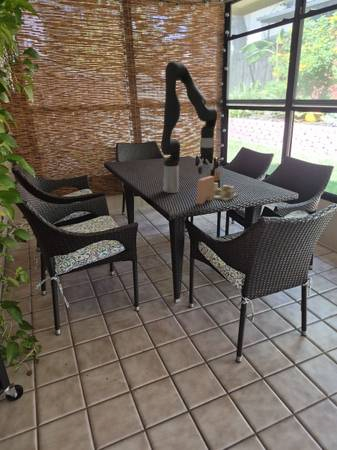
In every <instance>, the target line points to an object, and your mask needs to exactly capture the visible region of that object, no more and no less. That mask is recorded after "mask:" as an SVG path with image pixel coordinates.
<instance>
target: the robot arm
mask: <svg viewBox="0 0 337 450" xmlns="http://www.w3.org/2000/svg"><path fill="white" fill-rule="evenodd" d="M164 76H165V77H164V78H165V81H164V82H165V97H164V99H165V100H164V111H163V112H164V113H163V116H164V117H163V129H162V134H161V135H162V136H161V141H160V143H161V144H160V150H161V153H162V154H163V155H164V156H168V157H167V159H165V160H164V162H163V177H162V181H163V182H162V183H163V185H162V186H163V192H165V193H167V194H176V193H178V192H179V185H180V184H179V182H180V181H179V180H180V179H179V177H180V176H179V165H180V164H179V163H180V157H181V156H180V155H181V144H180V141H179V140H178V139H177V138H172V132H173V131H174V129H175V127H176V125H177V124H178V122H179V120H180V116H181V102H180V100H179V98H178V95H177V81H178V82H179V81H180V83H182V84H183V85H184V87H185V90H186V96H187V98H188V100H189V102H190V103H191V104H192V106H193V107H194V110H195V112H196V113H195V114H196V116H197V117H198V119H199V120H200V121H202V122H205V125H203V126H202V127H201V128H200V142H199V143H200V145H199V149H200V150H199V154H198V155H195V163H194V164H195V166H196V167H197V173H198V175H202V174H203V165H207V166H209V168H210V171H211V176H214V175H215V176H216V169H219V158H218V157H214V155H215V154H214V153H215V152H214V151H215V127H216V124H217V120H218V111H217V109H216V108H215V107H212V106H211V107H210V106H209V107H207V106H206V105H207V100H206V98H205V97H204V95H203V94H202V93H201V91H200V90H199V88H198V87H197V84H196V83H195V81H194V80H193V77H192V76H191V73H190V71H189V69H188V67H187V66H186V64H184V62H180V61H169V62H168V63H167V64H166V66H165V73H164Z"/></svg>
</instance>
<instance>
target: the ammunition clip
mask: <svg viewBox="0 0 337 450" xmlns="http://www.w3.org/2000/svg"><path fill="white" fill-rule="evenodd" d="M220 173H221V171H220V170H215V175H214V176H213V177H214V182H215V183H218V188H220V187H221V175H220ZM208 176H211V170H210V171H207V175H206V177H208Z"/></svg>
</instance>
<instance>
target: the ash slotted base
mask: <svg viewBox="0 0 337 450" xmlns="http://www.w3.org/2000/svg"><path fill="white" fill-rule="evenodd" d="M237 197H239V193H235V186H233V185H230V184H223V185H222V187H221V188H220V187H219V188H218V183H215V182H214V194H213V200H214V199H215V200H220V201H223V202H227V201H229V200H233V199H234V198H237Z"/></svg>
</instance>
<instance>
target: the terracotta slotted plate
mask: <svg viewBox="0 0 337 450" xmlns="http://www.w3.org/2000/svg"><path fill="white" fill-rule="evenodd" d="M196 190H197V191H196V195H197V196H196V204H197V205H203V204H205V203H206V201H209V202H211V201H213V200H214V198H213V194H214V177H213V176H208V177H207V176H206V177H202V178H199V179H197V187H196Z"/></svg>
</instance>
